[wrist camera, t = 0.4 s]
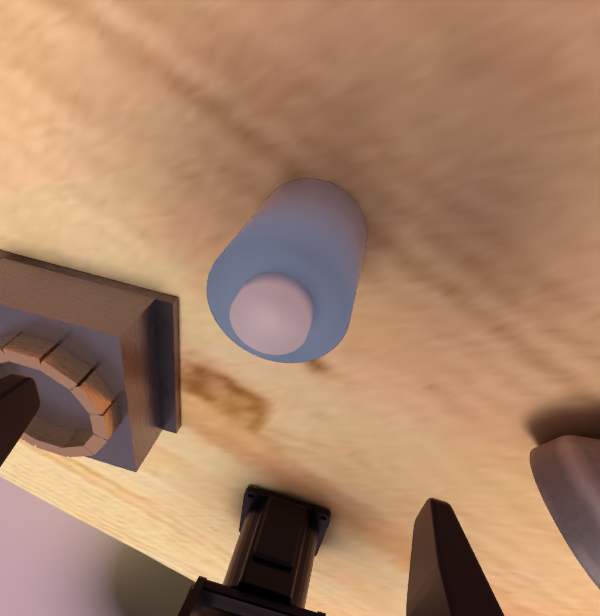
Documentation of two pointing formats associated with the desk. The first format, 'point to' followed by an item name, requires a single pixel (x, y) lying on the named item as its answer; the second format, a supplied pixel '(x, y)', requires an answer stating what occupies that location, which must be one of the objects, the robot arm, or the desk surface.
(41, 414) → the grey square ring base
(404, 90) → the desk surface
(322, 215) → the light blue tapered cylinder
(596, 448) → the pipe fitting
